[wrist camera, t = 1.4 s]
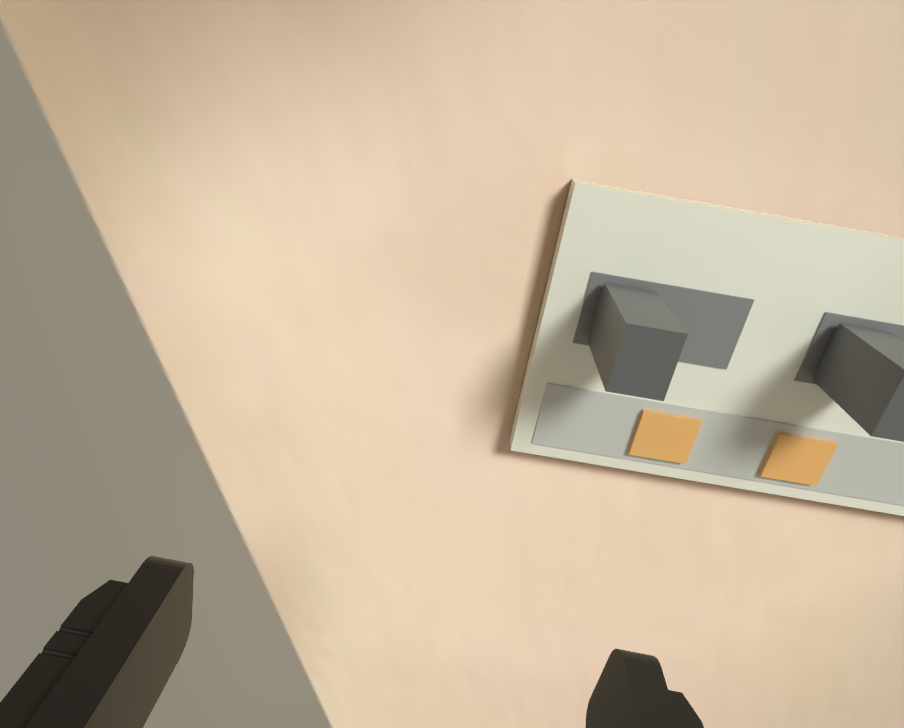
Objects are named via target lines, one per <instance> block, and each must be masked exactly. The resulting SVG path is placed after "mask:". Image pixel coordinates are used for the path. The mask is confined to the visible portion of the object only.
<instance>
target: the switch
mask: <svg viewBox="0 0 904 728" xmlns="http://www.w3.org/2000/svg"><path fill="white" fill-rule="evenodd" d="M687 335H688V333H687V332H686V330H685V329H684V328H683V326H682V325H681V324H680V323H679V321H678V320H677V319H676V317H675V316H674V315H673V313H672V312H671V311H670V309H669V308H668V307H667V305H666V304H665V303H664V301H663V300H662V299H661V297H660V296H659V295H658V293H657V292H656V291H651V290H645V289H639V288H634V287H628V286H622V285H616V284H610V283H605V282H604V286H603V289H602V293H601V296H600V300H599V303H598V307H597V311H596V314H595V318H594V321H593V325H592V328H591V332H590V335H589V339H588V344H589V347H590V350H591V353H592V355H593V358H594V361H595V364H596V366H597V369H598V372H599V375H600V378H601V380H602V383H603V386H604V389H605V391H606V392H612V393H618V394H624V395H630V396H636V397H641V398H647V399H653V400H659V401H664V399H665V396H666V394H667V391H668V388H669V385H670V383H671V380H672V377H673V374H674V371H675V369H676V366H677V363H678V360H679V358H680V355H681V352H682V349H683V346H684V344H685V341H686V338H687Z"/></svg>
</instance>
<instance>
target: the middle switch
mask: <svg viewBox="0 0 904 728" xmlns="http://www.w3.org/2000/svg"><path fill="white" fill-rule="evenodd" d="M813 381H814V382H815V383H816V384H817V385H818V386H819V387H820V388H821V389H822V390H823V391H824V392H825V393H826V394H827V395H828V396H829V397H830V398H832V399H833V400H834V401H835V402H836V403H837V404H838V405H839V406H840V407H841V408H842V409H843V410H844V411H845V412H846V413H847V414H848V415H849V416H850V417H851V418H852V419H853V420H854V421H856V422H857V423H858V424H859V425H860V426H861V427H862V428H863V429H864V430H865V431H866V432H867V433H868V434H869V435H870V436H872V437H878V438H884V439H890V440H896V441H901V442H904V340H902V339H901V338H899V337H898V336H896V335H895V334H893V333H892V332H888V331H883V330H877V329H871V328H865V327H859V326H854V325H848V324H842V323H839V325H838V328H837V330H836V332H835V334H834V336H833V338H832V340H831V342H830V344H829V347H828V349H827V351H826V353H825V355H824V357H823V359H822V361H821V363H820V366H819V368H818V370H817V372H816V374H815V376H814V378H813Z"/></svg>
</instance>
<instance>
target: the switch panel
mask: <svg viewBox="0 0 904 728" xmlns="http://www.w3.org/2000/svg"><path fill="white" fill-rule="evenodd" d="M604 282H605V283H610V284H616V285H622V286H628V287H634V288H639V289H645V290H651V291H656V292H657V293H658V295H659V296H660V297H661V299H662V300H663V301H664V303H665V304H666V305H667V307H668V308H669V309H670V311H671V312H672V313H673V315H674V316H675V317H676V319H677V320H678V321H679V323H680V324H681V325H682V326H683V328H684V329H685V330H686V332H687V333H688V335H687V338H686V341H685V344H684V346H683V349H682V352H681V355H680V358H679V360H678V363H677V366H676V369H675V371H674V374H673V377H672V380H671V383H670V385H669V388H668V391H667V394H666V396H665V399H664V401H659V400H653V399H647V398H641V397H636V396H630V395H624V394H618V393H612V392H606V391H605V389H604V386H603V383H602V380H601V378H600V375H599V372H598V369H597V366H596V364H595V361H594V358H593V355H592V353H591V350H590V347H589V344H588V339H589V335H590V332H591V328H592V325H593V321H594V318H595V314H596V311H597V307H598V303H599V300H600V296H601V293H602V289H603V286H604ZM839 323H842V324H848V325H854V326H859V327H865V328H871V329H877V330H883V331H888V332H892V333H893V334H895V335H896V336H898V337H899V338H901V339H902V340H904V237H901V236H895V235H889V234H884V233H878V232H872V231H867V230H861V229H855V228H849V227H844V226H838V225H832V224H827V223H821V222H815V221H810V220H804V219H798V218H793V217H787V216H781V215H775V214H770V213H764V212H758V211H753V210H747V209H741V208H736V207H730V206H724V205H719V204H713V203H707V202H701V201H696V200H690V199H684V198H679V197H673V196H667V195H662V194H656V193H650V192H645V191H639V190H633V189H627V188H622V187H616V186H610V185H605V184H599V183H593V182H588V181H582V180H576V179H572V181H571V185H570V189H569V193H568V198H567V202H566V206H565V210H564V214H563V218H562V223H561V227H560V231H559V235H558V239H557V244H556V248H555V252H554V256H553V260H552V264H551V269H550V273H549V277H548V281H547V285H546V289H545V294H544V298H543V302H542V306H541V310H540V315H539V319H538V323H537V327H536V331H535V335H534V340H533V344H532V348H531V352H530V356H529V360H528V365H527V369H526V373H525V377H524V381H523V386H522V390H521V394H520V398H519V402H518V406H517V411H516V415H515V419H514V423H513V427H512V432H511V436H510V449H511V450H512V451H518V452H524V453H530V454H536V455H542V456H548V457H554V458H560V459H565V460H571V461H577V462H583V463H589V464H595V465H601V466H607V467H613V468H619V469H625V470H631V471H637V472H643V473H649V474H655V475H661V476H667V477H673V478H679V479H685V480H691V481H697V482H703V483H709V484H715V485H721V486H727V487H733V488H739V489H745V490H751V491H757V492H763V493H769V494H775V495H781V496H787V497H793V498H799V499H805V500H811V501H817V502H823V503H829V504H835V505H841V506H847V507H853V508H859V509H865V510H871V511H877V512H883V513H889V514H895V515H901V516H904V442H901V441H896V440H890V439H884V438H878V437H872V436H870V435H869V434H868V433H867V432H866V431H865V430H864V429H863V428H862V427H861V426H860V425H859V424H858V423H857V422H856V421H854V420H853V419H852V418H851V417H850V416H849V415H848V414H847V413H846V412H845V411H844V410H843V409H842V408H841V407H840V406H839V405H838V404H837V403H836V402H835V401H834V400H833V399H832V398H830V397H829V396H828V395H827V394H826V393H825V392H824V391H823V390H822V389H821V388H820V387H819V386H818V385H817V384H816V383H815V382H814V381H813V378H814V376H815V374H816V372H817V370H818V368H819V366H820V363H821V361H822V359H823V357H824V355H825V353H826V351H827V349H828V347H829V344H830V342H831V340H832V338H833V336H834V334H835V332H836V330H837V328H838V325H839Z"/></svg>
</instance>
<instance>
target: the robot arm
mask: <svg viewBox="0 0 904 728" xmlns="http://www.w3.org/2000/svg"><path fill="white" fill-rule="evenodd" d="M193 575H194V569H193V565H192V564H191V563H186V562H181V561H175V560H171V559H166V558H160V557H155V556H150V557H148V558H147V559H146V560H145V561H144V562H143V564H142V565H141V567H140V568H139V569H138V570H137V572H136V573H135V575H134V576H133V577H132V579H131V580H130V582H129V583H124V582H119V581H114V580H109V581H108V582H107V583H105V584H104V585H102V586H101V587H99V588H98V589H96V590H95V591H93V592H92V593H90V594H89V595H87V596H86V597H85V598H83V599H82V600H81V601H80V602H79V603H78V605H77V606H76V607H75V608H74V610H73V611H72V612H71V613H70V615H69V616H68V617H67V619H66V620H65V621H64V622H63V624H62V625H61V628H60V630H59V631H56V633H55V634H54V635H53V636H52V638H51V639H50V640H49V641H48V643H47V644H46V645H45V647H44V649H43V651H42V653H41V654H40V653H39V654H38V655H37V657H36V658H35V659H34V661H33V662H32V663H31V664H30V666H29V667H28V668H27V669H26V671H25V672H24V673H23V675H22V676H21V677H20V679H19V680H18V681H17V682H16V684H15V685H14V686H13V687H12V688H11V690H10V691H9V692H8V694H7V695H6V696H5V697H4V699H3V700H2V701H1V702H0V728H143V726H144V724H145V722H146V720H147V719H148V717H149V715H150V713H151V711H152V709H153V707H154V705H155V703H156V702H157V700H158V698H159V696H160V694H161V692H162V691H163V689H164V687H165V685H166V683H167V681H168V679H169V677H170V676H171V674H172V672H173V670H174V668H175V666H176V664H177V662H178V661H179V659H180V657H181V654H182V652H183V650H184V648H185V645H186V642H187V639H188V636H189V632H190V627H191V622H192V621H191V620H192V600H193ZM586 728H704V727H703V724H702V721H701V720H700V718H699V717H698V715H697V714H696V713H695V711H694V710H693V708H692V707H691V705H690V704H689V702H688V701H687V699H686V698H685V697H684V695H683V694H682V693H681V692H675V691H670V690H668V688H667V685H666V682H665V678H664V675H663V672H662V668H661V665H660V663H659V661H658V659H657V658H656V657H654V656H651V655H645V654H640V653H635V652H630V651H625V650H620V649H614V650H613V651H612V653H611V654H610V656H609V659H608V661H607V663H606V665H605V667H604V669H603V672H602V674H601V676H600V678H599V680H598V682H597V685H596V687H595V689H594V691H593V693H592V696H591V698H590V700H589V704H588V708H587V714H586Z"/></svg>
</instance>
